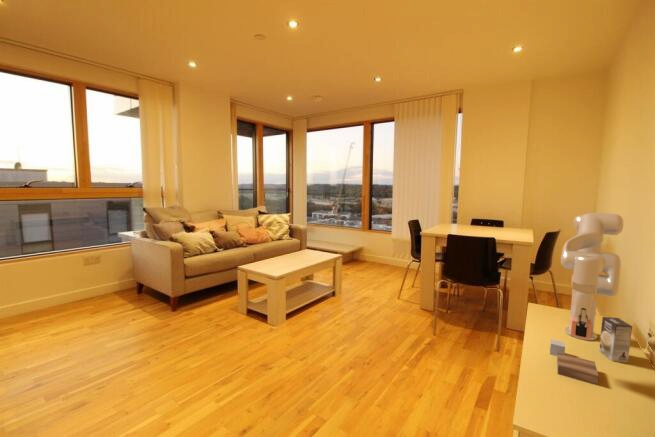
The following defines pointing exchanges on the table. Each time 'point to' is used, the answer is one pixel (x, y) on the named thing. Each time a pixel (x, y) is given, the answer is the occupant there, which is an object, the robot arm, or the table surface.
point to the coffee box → (615, 339)
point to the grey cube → (557, 347)
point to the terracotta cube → (573, 328)
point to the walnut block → (577, 368)
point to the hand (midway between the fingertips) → (579, 332)
